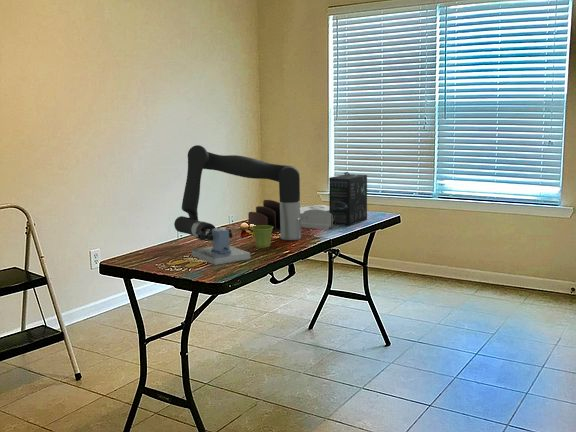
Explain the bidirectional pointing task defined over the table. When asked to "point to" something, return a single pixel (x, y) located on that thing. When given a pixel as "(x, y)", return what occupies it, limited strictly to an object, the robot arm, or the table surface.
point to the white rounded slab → (320, 207)
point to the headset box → (348, 198)
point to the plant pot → (262, 235)
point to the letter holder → (266, 215)
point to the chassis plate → (220, 255)
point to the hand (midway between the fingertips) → (222, 236)
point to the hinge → (317, 219)
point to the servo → (221, 241)
